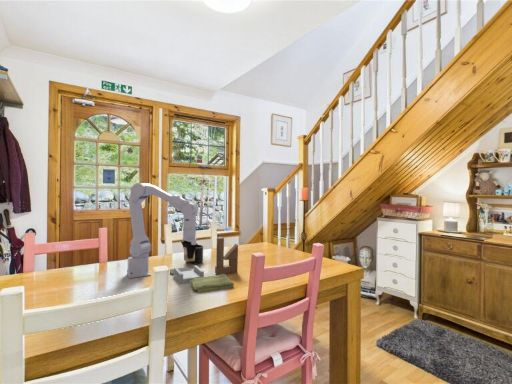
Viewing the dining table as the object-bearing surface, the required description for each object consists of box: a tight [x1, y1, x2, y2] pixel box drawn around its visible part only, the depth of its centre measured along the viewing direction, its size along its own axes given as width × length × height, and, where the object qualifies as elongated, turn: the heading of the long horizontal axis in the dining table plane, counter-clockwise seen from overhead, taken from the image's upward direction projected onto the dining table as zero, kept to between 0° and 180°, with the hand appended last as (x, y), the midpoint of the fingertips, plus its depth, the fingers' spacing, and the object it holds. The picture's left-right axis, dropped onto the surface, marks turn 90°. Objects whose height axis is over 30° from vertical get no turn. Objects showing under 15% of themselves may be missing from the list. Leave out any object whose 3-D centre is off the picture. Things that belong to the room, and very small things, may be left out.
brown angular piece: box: [214, 236, 239, 275], centre depth 142 cm, size 4×11×18 cm, turn 115°
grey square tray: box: [173, 264, 205, 284], centre depth 133 cm, size 11×11×4 cm
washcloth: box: [189, 274, 235, 293], centre depth 125 cm, size 13×18×3 cm
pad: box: [169, 266, 192, 276], centre depth 143 cm, size 10×7×1 cm
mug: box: [185, 244, 204, 265], centre depth 160 cm, size 9×12×9 cm
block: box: [183, 247, 195, 263], centre depth 133 cm, size 4×4×6 cm
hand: (188, 257), depth 133 cm, fingers closed on block, 4 cm apart
